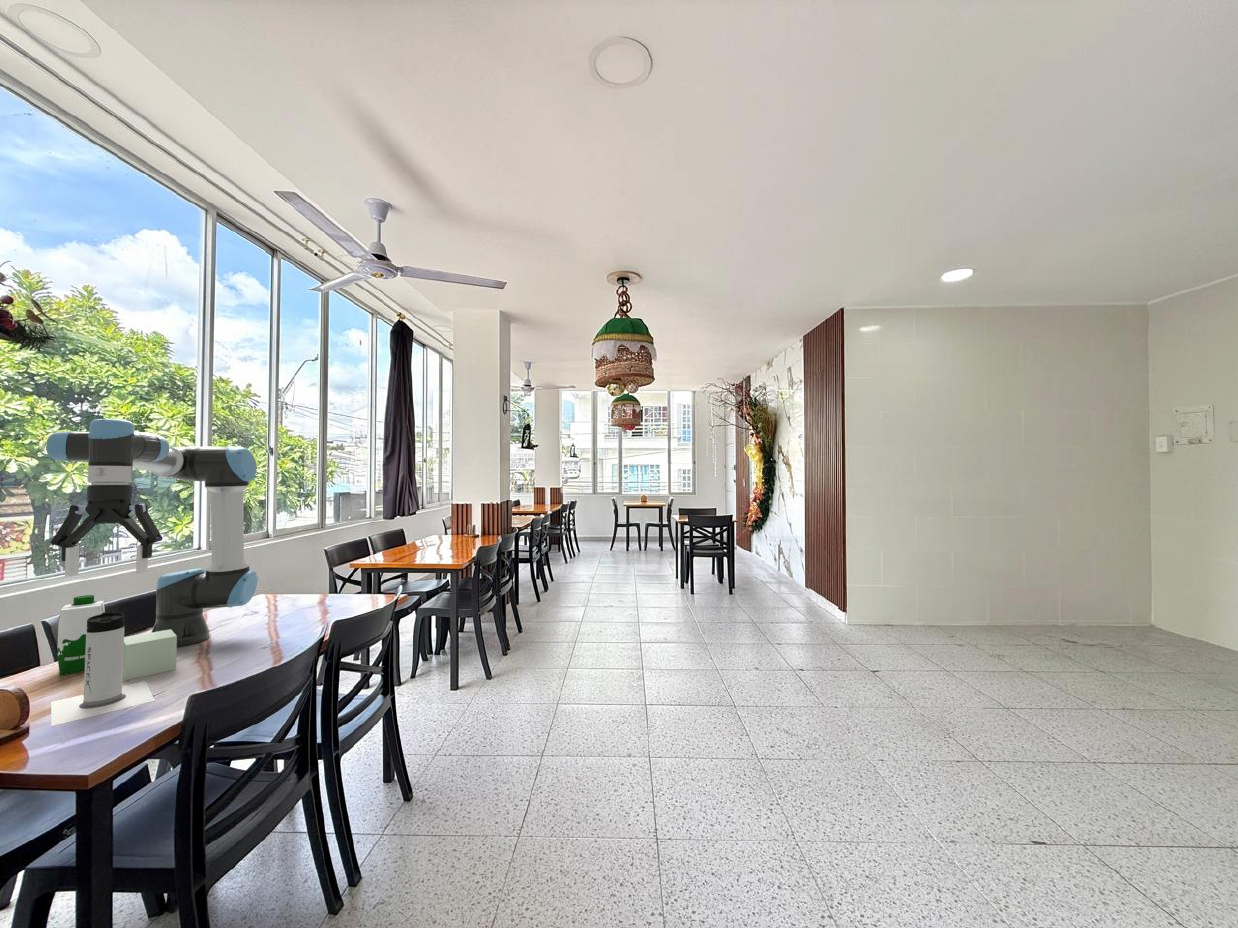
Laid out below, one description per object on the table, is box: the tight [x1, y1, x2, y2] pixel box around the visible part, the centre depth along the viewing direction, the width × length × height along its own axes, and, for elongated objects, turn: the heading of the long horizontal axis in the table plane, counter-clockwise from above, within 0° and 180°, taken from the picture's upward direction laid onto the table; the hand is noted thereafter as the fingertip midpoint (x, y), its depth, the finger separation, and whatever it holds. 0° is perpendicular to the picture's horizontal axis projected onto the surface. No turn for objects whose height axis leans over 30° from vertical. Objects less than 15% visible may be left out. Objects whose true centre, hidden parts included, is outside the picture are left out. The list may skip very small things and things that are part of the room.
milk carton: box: [57, 594, 106, 677], centre depth 139 cm, size 9×9×20 cm
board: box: [50, 680, 156, 727], centre depth 116 cm, size 18×16×1 cm
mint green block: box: [123, 629, 178, 681], centre depth 136 cm, size 10×10×10 cm
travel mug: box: [83, 611, 125, 706], centre depth 116 cm, size 6×7×20 cm
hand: (107, 573), depth 117 cm, fingers open, 13 cm apart
